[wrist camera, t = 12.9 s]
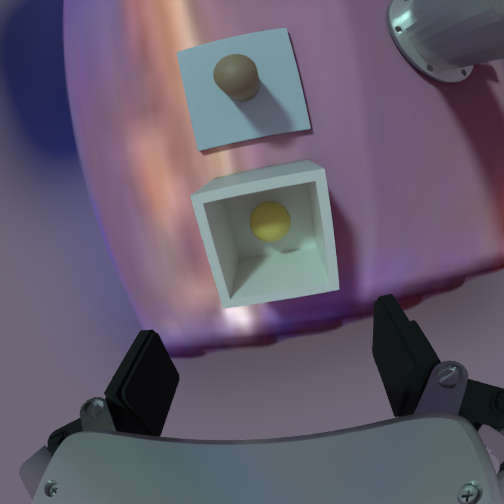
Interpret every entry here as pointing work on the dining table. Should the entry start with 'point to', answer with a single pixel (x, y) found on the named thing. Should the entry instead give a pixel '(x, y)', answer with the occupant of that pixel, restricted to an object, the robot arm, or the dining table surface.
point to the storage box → (268, 233)
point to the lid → (243, 88)
